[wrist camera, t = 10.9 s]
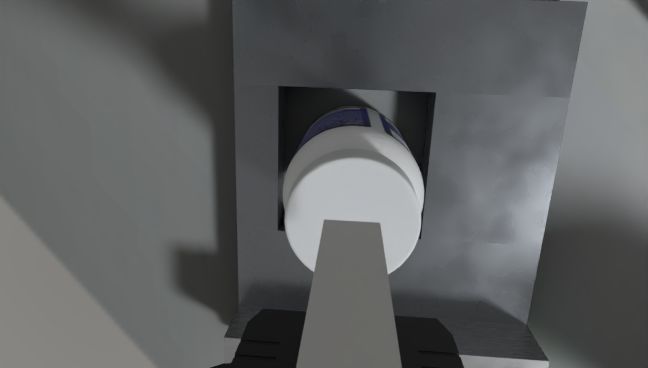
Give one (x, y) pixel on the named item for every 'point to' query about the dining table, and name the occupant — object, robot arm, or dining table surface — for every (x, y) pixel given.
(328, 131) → the pill bottle
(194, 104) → the dining table surface
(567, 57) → the jig
